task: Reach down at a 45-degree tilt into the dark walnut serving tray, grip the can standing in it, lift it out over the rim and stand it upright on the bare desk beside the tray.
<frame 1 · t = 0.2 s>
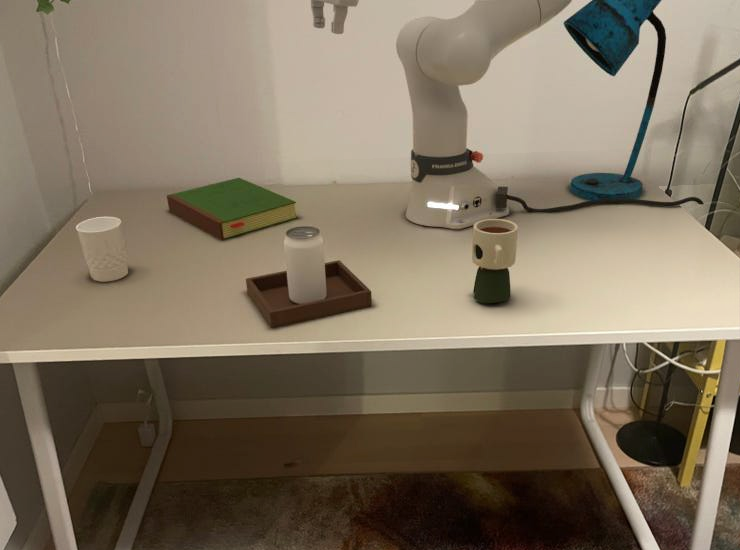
hand: (327, 30, 135), 39 cm above the table, tool pointing down, fingers open, 8 cm apart
white cup: (110, 275, 141), on the table
hardcover book: (233, 216, 167), on the table
character mug: (491, 299, 127), on the table
desk lamp: (596, 191, 173), on the table
can: (308, 298, 129), resting on tray
tray: (308, 299, 129), on the table
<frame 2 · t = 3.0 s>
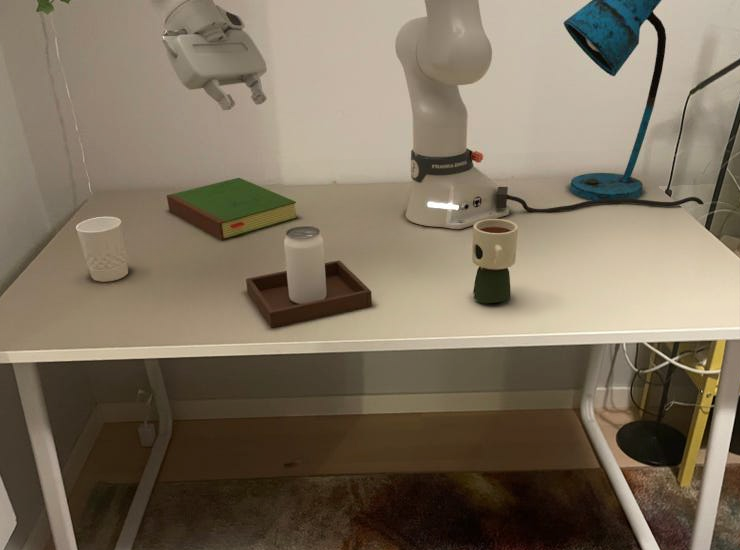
hand: (246, 105, 122), 31 cm above the table, tool tilted 40°, fingers open, 8 cm apart
nothing on the table moved.
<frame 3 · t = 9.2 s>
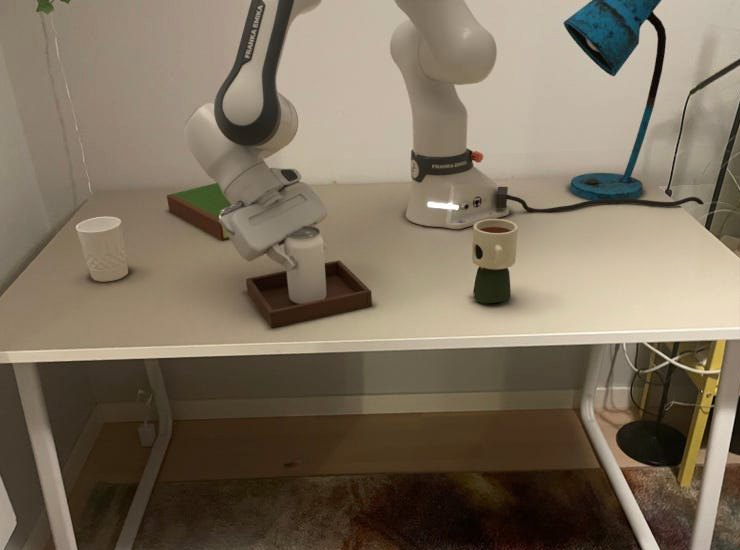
hand: (308, 259, 125), 8 cm above the table, tool tilted 45°, fingers closed on can, 6 cm apart
can: (308, 298, 129), resting on tray, touching gripper
everything else where it was.
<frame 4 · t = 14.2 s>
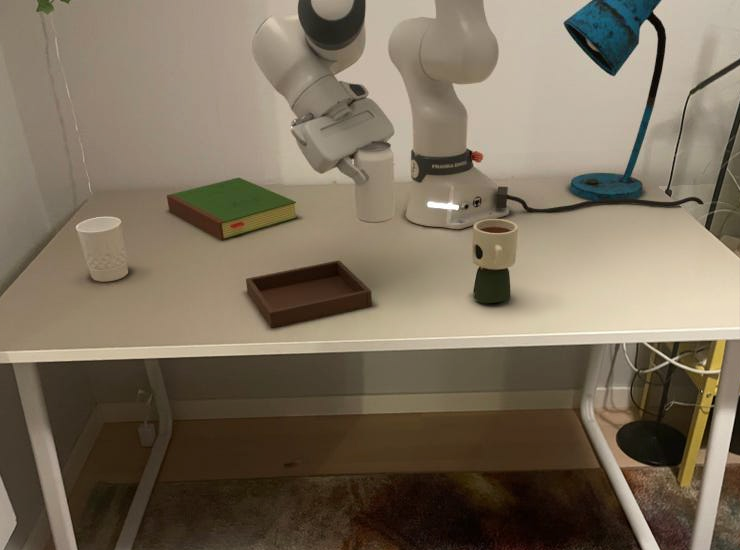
hand: (377, 175, 122), 20 cm above the table, tool tilted 45°, fingers closed on can, 6 cm apart
can: (375, 218, 126), point 13 cm above the table, touching gripper
everything else where it was.
when the fingers open (7 cm above the table, at t = 19.2 s): can stays where it is, on the table.
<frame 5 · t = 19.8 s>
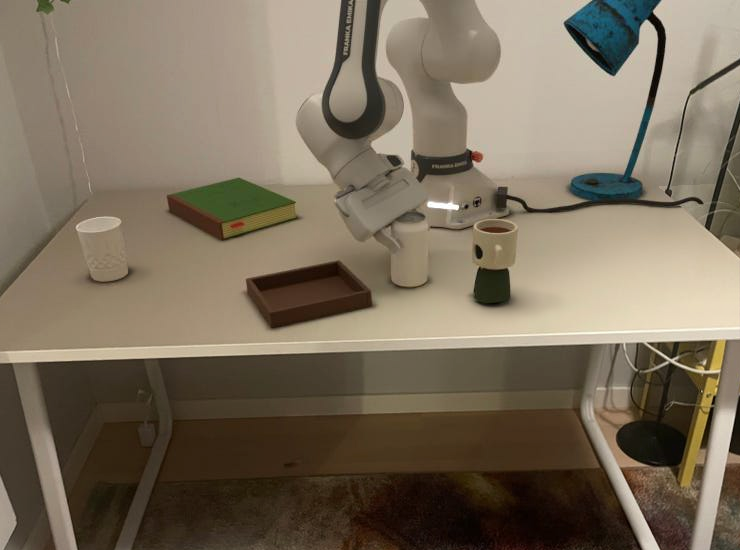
hand: (413, 241, 130), 7 cm above the table, tool tilted 45°, fingers open, 8 cm apart
can: (409, 281, 134), on the table
everything else where it was.
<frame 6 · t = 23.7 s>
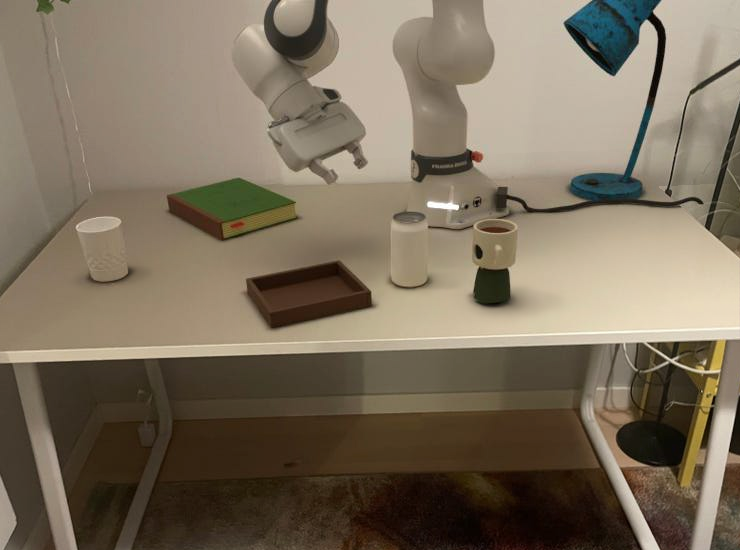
hand: (349, 173, 131), 18 cm above the table, tool tilted 45°, fingers open, 8 cm apart
nothing on the table moved.
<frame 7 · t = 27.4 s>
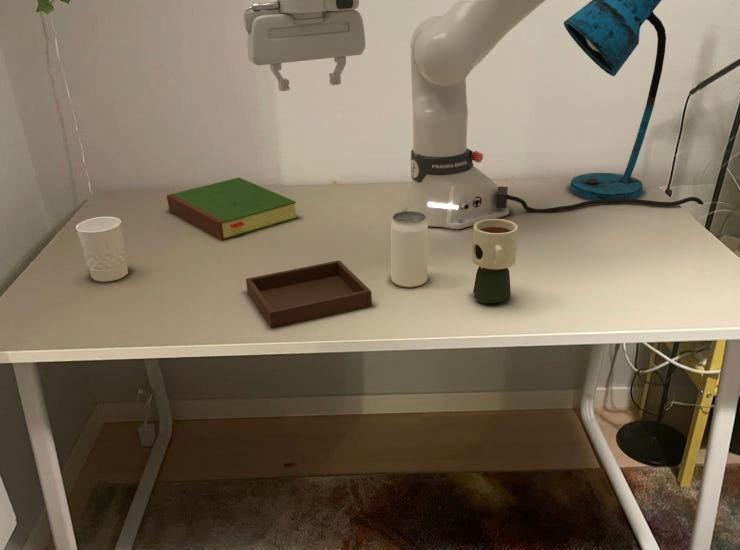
hand: (310, 87, 130), 31 cm above the table, tool pointing down, fingers open, 8 cm apart
nothing on the table moved.
at the end: can inside the target area (0.2 cm from its centre), on the table; can tilted 0°; can touching table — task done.
